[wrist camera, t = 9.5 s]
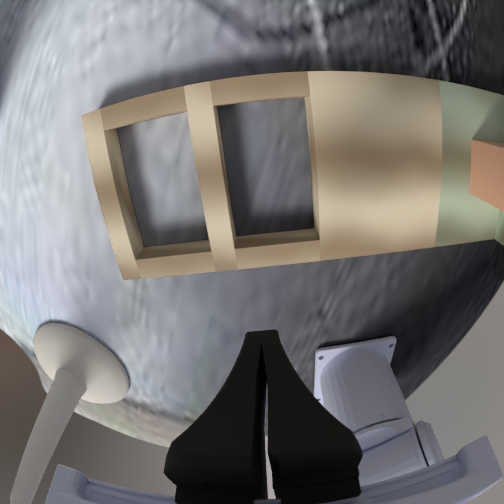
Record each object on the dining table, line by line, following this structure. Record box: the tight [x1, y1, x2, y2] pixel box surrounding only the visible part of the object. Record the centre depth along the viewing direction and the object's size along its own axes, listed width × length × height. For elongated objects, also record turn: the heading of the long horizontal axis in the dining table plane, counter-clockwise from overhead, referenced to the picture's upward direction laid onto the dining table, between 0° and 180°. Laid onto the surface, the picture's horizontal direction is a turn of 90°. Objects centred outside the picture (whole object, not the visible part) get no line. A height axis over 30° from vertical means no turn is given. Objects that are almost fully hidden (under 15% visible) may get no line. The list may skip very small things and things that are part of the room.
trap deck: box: [81, 71, 504, 280], centre depth 16 cm, size 12×31×5 cm, turn 97°
